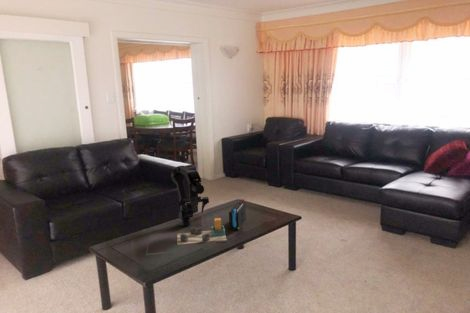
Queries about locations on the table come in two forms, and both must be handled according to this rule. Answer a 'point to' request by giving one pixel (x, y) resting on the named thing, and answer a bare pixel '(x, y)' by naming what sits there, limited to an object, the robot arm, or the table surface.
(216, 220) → the plug block
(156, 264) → the table surface
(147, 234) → the table surface
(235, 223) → the game console
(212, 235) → the board
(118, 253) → the table surface
